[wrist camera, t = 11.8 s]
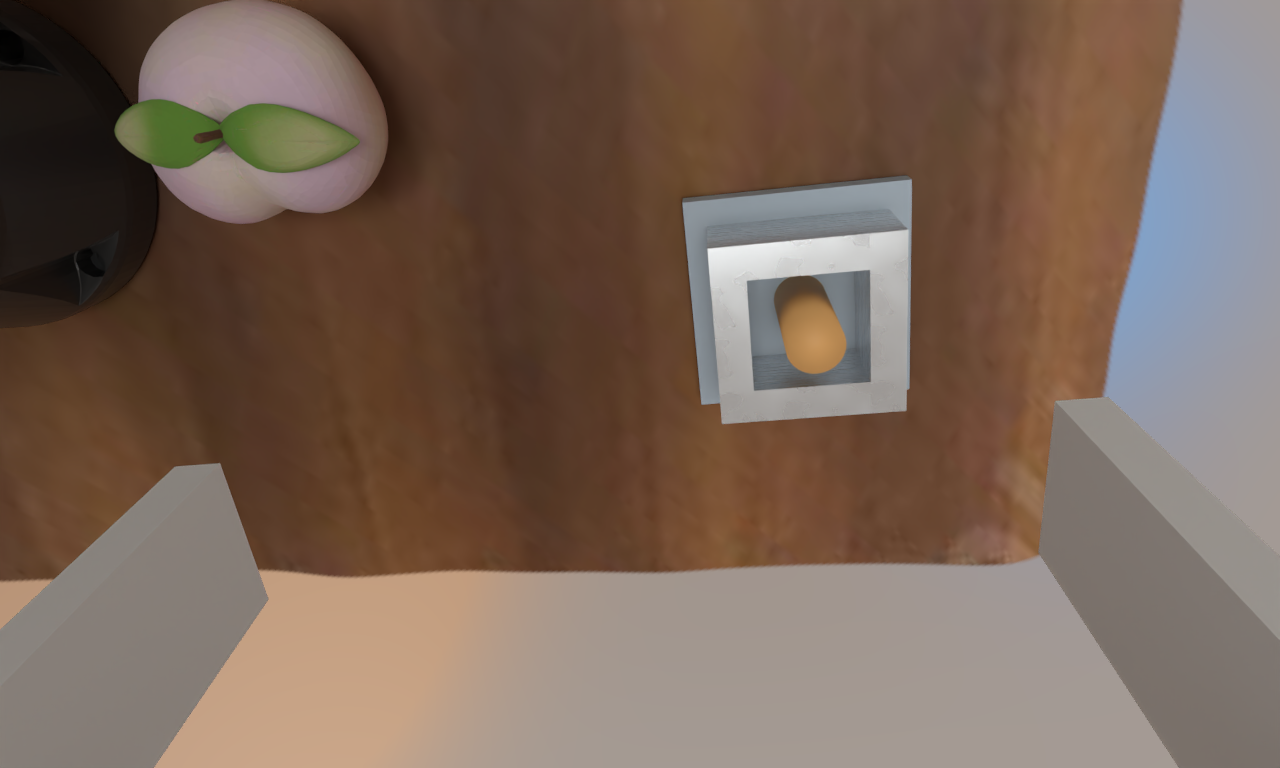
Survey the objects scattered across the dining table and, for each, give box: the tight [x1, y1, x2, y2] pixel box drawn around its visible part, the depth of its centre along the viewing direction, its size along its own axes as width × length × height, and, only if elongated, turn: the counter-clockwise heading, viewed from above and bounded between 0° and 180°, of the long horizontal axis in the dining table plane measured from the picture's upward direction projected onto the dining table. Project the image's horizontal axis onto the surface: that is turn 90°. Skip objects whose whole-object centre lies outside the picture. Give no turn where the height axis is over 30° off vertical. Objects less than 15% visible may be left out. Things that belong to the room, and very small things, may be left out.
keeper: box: [682, 175, 912, 405], centre depth 37 cm, size 10×10×7 cm
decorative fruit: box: [114, 0, 388, 224], centre depth 33 cm, size 9×8×10 cm
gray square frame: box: [707, 208, 909, 424], centre depth 37 cm, size 8×8×4 cm
